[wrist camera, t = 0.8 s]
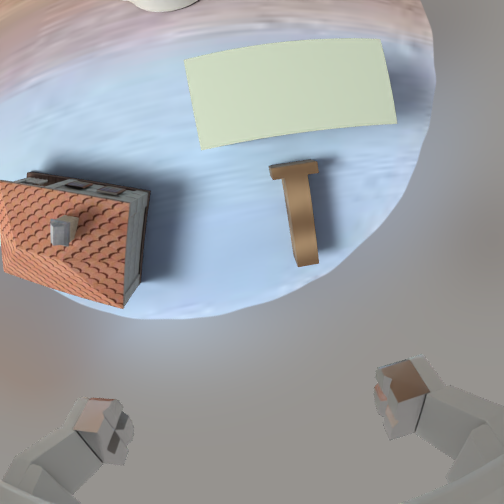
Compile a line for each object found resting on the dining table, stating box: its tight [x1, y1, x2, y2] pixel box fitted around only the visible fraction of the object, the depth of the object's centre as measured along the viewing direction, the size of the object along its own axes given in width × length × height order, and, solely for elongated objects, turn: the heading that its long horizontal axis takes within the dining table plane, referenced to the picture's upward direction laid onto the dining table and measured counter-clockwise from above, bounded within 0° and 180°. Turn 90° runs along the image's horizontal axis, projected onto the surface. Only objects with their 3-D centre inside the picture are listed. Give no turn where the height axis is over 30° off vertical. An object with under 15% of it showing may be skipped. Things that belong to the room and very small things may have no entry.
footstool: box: [184, 38, 397, 150], centre depth 32 cm, size 9×19×16 cm, turn 100°
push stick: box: [269, 159, 319, 267], centre depth 42 cm, size 14×6×4 cm, turn 10°
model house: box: [0, 172, 151, 309], centre depth 38 cm, size 24×16×15 cm, turn 77°
